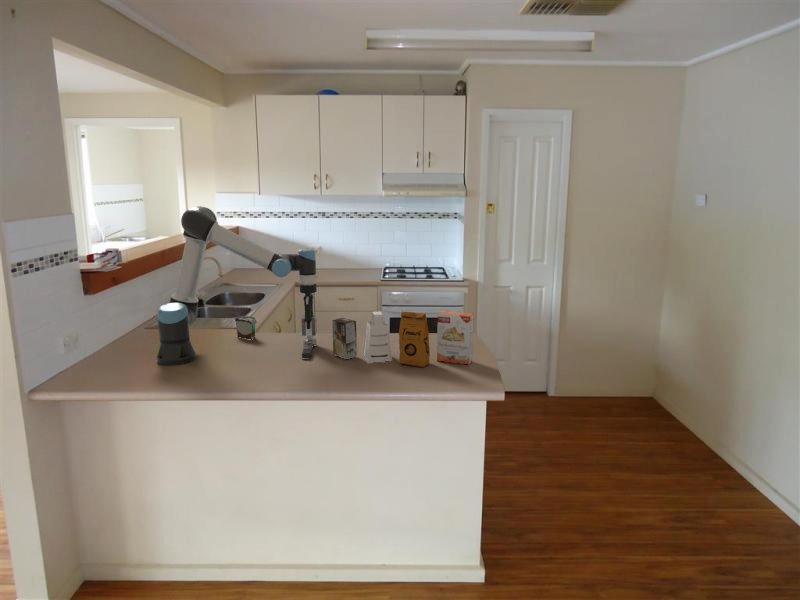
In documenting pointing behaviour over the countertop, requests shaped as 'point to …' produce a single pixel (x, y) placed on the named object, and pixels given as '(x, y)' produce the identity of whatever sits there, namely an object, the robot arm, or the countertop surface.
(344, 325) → the coffee box
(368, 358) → the grater
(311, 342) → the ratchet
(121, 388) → the countertop surface
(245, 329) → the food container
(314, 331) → the red-striped grey cube
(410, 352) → the coffee package
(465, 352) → the cracker box
